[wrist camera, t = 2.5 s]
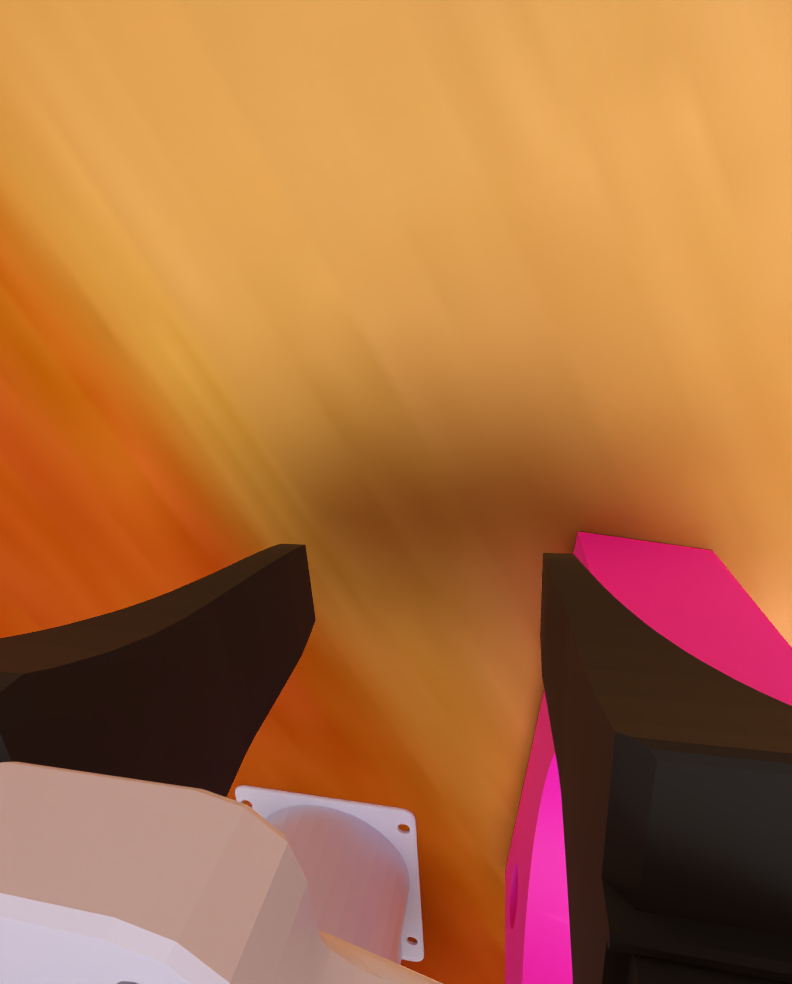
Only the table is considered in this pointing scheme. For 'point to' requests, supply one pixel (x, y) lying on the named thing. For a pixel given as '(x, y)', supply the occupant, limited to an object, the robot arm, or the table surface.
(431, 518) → the table surface
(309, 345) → the table surface
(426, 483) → the table surface
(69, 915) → the robot arm
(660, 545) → the toy block
